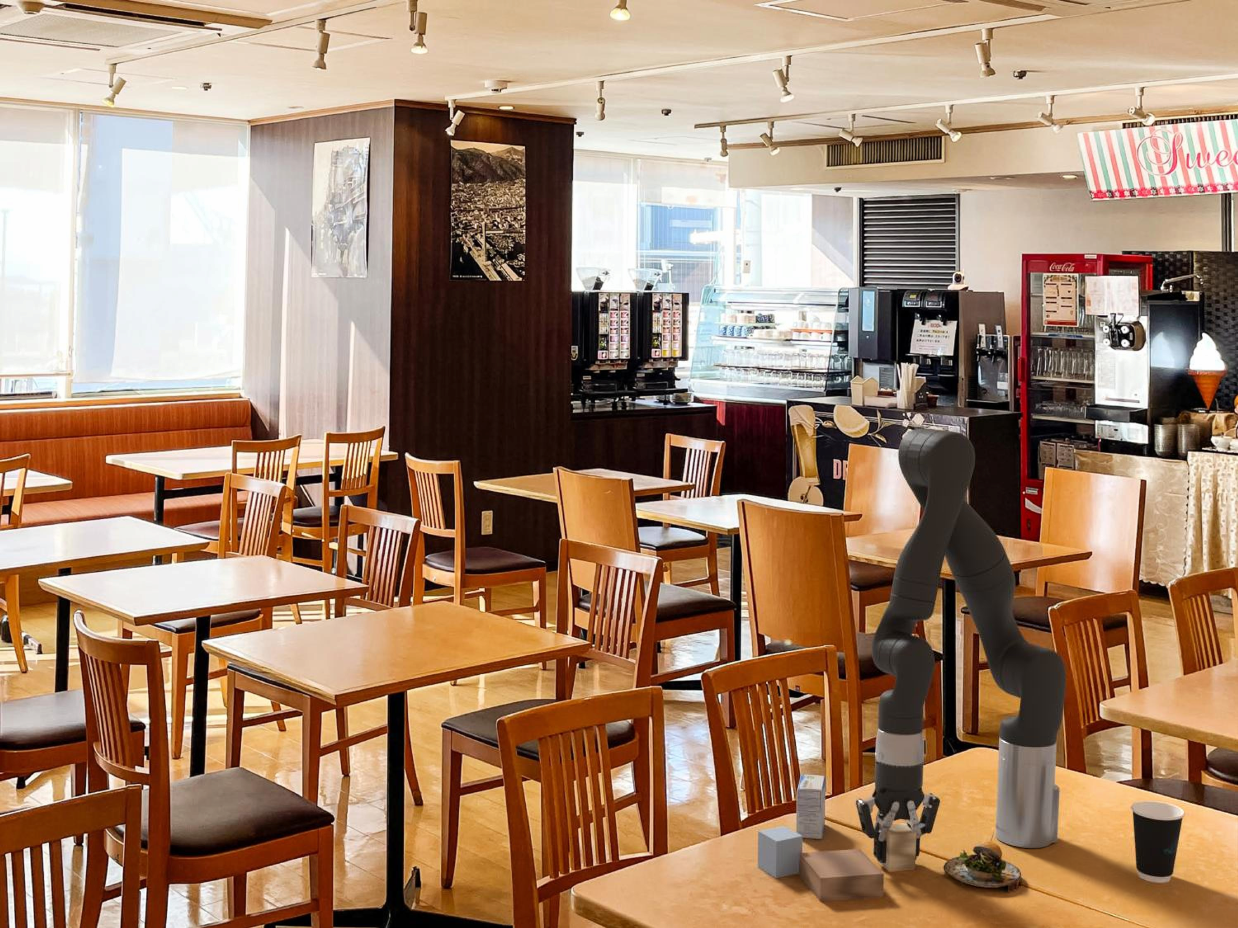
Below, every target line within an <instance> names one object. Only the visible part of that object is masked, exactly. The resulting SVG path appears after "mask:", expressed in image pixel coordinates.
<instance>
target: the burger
mask: <svg viewBox="0 0 1238 928" xmlns="http://www.w3.org/2000/svg"><path fill="white" fill-rule="evenodd" d="M994 833H995V830H993V832H992V835H991V840H986V841H981V842H978V843H976V844H975V845H974V846H973V849H972V851H973V853H974V854H970V855H969V854H968V853H967V852H966V851H965V849H963V850H962V851H963V852H959V854H960V855H959V856H956V857H953V858H951V859H949V860H946V862H945V863H944V865H943V871H944V872H947V873H948V874H949V875H950V876H951V877H952V878H954V879H955V880H957V881H960V883H961V882H962V883H963V884H964V883H965V884H967V885H971V886H974V887H981V888H986V889H987V888H994V889H995V888H997V889H998V888H1002V887H1006V886H1007V892H1008V893H1010V892H1013V893H1014V892H1015V890H1018V889H1019V888H1018V886H1019V884H1020V886H1022V883H1023V882H1022V872H1021V870H1020V869H1019V868H1018V867H1017V866H1016V865H1014V864H1012V863H1011V862H1009V861H1007V860H1005V859H1004V860H1003V859H1002V858H1003V852H1002V848H1001V847H1000V846H999V844H996V843H995V842H993V840H992V839H993V837H994Z"/></svg>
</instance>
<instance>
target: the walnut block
mask: <svg viewBox="0 0 1238 928" xmlns="http://www.w3.org/2000/svg"><path fill="white" fill-rule="evenodd" d="M798 875H799V877H800V879H801V880H803V881H802V882H804V883H805V884H806V886H807V887H808V889H809V890H810V891H811V892H812V894H814V896H815V897H816V898H817V900H818V901H819V902H831V901H843V900H845V901H847V900H858V899H859V900H861V899H872V898H884V881H885V880H884V879H885V878H884V877H885V873H884V872H883V871H882V870H881V869H880V868H879V867H878V866H877V865H876V864H875V863H874V861H872V859H870V857H869V856H868V855H867V854H866V853H865V852H864V851H863V850H862V849H860V848H856V849H855V848H854V849H840V850H826V851H824V850H823V851H811V852H810V851H809V852H802V853H800V861H799V873H798Z"/></svg>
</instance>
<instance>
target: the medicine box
mask: <svg viewBox="0 0 1238 928" xmlns="http://www.w3.org/2000/svg"><path fill="white" fill-rule="evenodd" d="M825 820H826V776H825V775H819V774H818V775H817V774H801V775H800V778H799V782H798V787H797V789H796V823H795V824H796V825H795V826H796V827H795V828H796V829H795V832H796V833H798V834H800V835H802V836H803V839H812V840H814V839H815V840H822V839H823V835H824V829H825V822H826V821H825Z"/></svg>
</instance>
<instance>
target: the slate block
mask: <svg viewBox="0 0 1238 928" xmlns="http://www.w3.org/2000/svg"><path fill="white" fill-rule="evenodd" d="M757 833H758V834H757V835H758V837H757V868H758V869H760V870H762V871H763V872H764V873H766V874H768V875H770V876H771V877H772V878H775V879H779V878H783V877H788V876H793V875H798V874H799V861H800V853H803V839H804V838H803V836H802V835H800V834H798V833H796V830H795V831H794V830H793V829H791V828H790V827H787V826H785V825H782V826H778V827H777V826H776V827H773V828H767V829H762V830H758V831H757Z"/></svg>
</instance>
